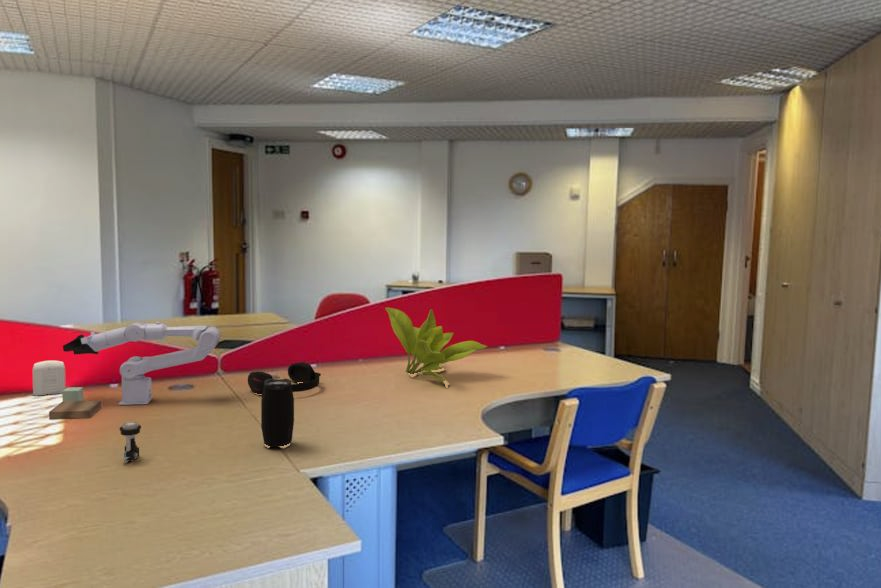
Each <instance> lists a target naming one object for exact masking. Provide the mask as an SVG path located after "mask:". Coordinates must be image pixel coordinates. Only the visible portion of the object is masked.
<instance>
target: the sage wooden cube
mask: <svg viewBox="0 0 881 588" xmlns="http://www.w3.org/2000/svg"><path fill="white" fill-rule="evenodd" d="M61 394H62V395H61V396H62V402H63V401H84V387H83V386H81V387H80V386H79V387H78V386H77V387H75V386H73V387H72V386H71V387H65V390H63V391H62V393H61Z"/></svg>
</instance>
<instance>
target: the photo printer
mask: <svg viewBox="0 0 881 588" xmlns="http://www.w3.org/2000/svg"><path fill="white" fill-rule="evenodd" d="M65 366H66V365H65V364H64V361H62V360H61V361H60V360H52V359H51V360H50V359H49V360H43V361H38V362H35V363H34V364H33V367H32V394H33V395H32V396H35V397H37V396H46V395H47V394H48V395H57V394H58V393H59V394H62V391H63V390H65V389H66V367H65ZM48 395H47V396H48Z"/></svg>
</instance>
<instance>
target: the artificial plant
mask: <svg viewBox="0 0 881 588" xmlns="http://www.w3.org/2000/svg"><path fill="white" fill-rule="evenodd" d="M385 311H386V312H387V313H388V317H389V320H390V325H391V328H392V330H393V332H394V334H395V336H396V337H397V339H398V340H399V341H400V343H401V346H402V347H403V348H404V350H405V352H406V353H407V356H408V357H407V358H408V359H407V366H406V370H405V372H406V373H410V374H414V373H418V372H420V373H418V374H417V375H418V376H422V375H423V376H424V375H425V376H432V377H435V378H437V379H439V380H440V382H441V383H442V382H443V381H445V380H446V379H445V378H444V377H443V376H441V375H440V374H438V372H432V371H431V370H438V369H442V368H444V367H443V366H441V365H443V364H446V363H449V362H453V361H457V360H462V359H463V358H465V357H467V356H470V354H472V353H473V352H475V351H480V350H483V349H486V348H488V346H487V345H485V344H481V343H480V342H478V341H475V340H466V341H460V342H457V343H455V344H451V345H448V346H447V347H445V346H446V345H447V344H448V343H449V342H450V340H451V339H452V337H453V335H454V332H446V333H444V332H443V326H441V325H440V326H437V324H436V318H435V314H434V311H433V309H430V310H429V313H428V315H427V318H426V320H424V322H423V323H422V325H420V327H416V326H413V323H412V320H411V318H410V317H409V316H408V314H406V313H405V312H404V311H402V310H400V309H397V308H394V307H393V308H392V307H385ZM444 347H445V348H444ZM443 348H444V349H443ZM411 355H412V357H413V359H412V361H411ZM421 364H423V365H422V367H419V366H420V365H421ZM439 365H440V366H441V367H440V366H439ZM418 367H419V368H418Z"/></svg>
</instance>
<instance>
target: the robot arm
mask: <svg viewBox="0 0 881 588" xmlns="http://www.w3.org/2000/svg"><path fill="white" fill-rule="evenodd" d="M167 337H190V338H192V339H193V340H194V341H195V342H197V344H196V345H195V347H193V348H188V349H183V350H182V349H181V350H178V351H173V352H169V353H163V354H158V355H154V356H153V355H152V356H143V357H142V356H137V355H136V356H132V357H130V358H128V359H127V360H126V361H125V362H123V363H122V364H121V365H120V367H119V374H120V376H121V397H122V398H121V399H122V400H121V401H119V403H118V405H119V406H122V405H123V406H124V405H125V406H127V405H129V406H130V405H148V404H149V403H150V401H152V399H153V392H152V391H153V388H152V387H153V386H152V385H153V382H152V378H151V377H150V376H149V377H148V376H145V374H146V373H149V372H151V371H157V370H161V369H166V368H171V367H176V366H180V365H184V364H191V363H195V362H199V361H203V360H204V359H205V358H206V357H208V355H209V354H210V353H211V352H212V351H213V350H214V349H215V348H216V346H217V345H218V344H219V341H220V340H221V337H222V332H221V330H220V329H219V328H218V327H217V326H213V325H211V326H207V325H184V326H183V325H182V326H181V325H180V326H179V325H178V326H168V325H166V324H165V323H161V321H156V322H155V323H146V322H145V321H144V322H141V323H140V322H132V323H131V324H130V325H129V326H128V325H127V326H123V327H118V328H114V329H110V330H107V331H103V332H100V333H99V332H98V333H96V332H95V331H91V332H90V335H88V336H85V335H84V334H79V335H77V337H75V338H74V339H73V340H71V341H69V342H67V343H66V344H63V345H62V348H63V352H65V353H66V352H73V355H84V354H85V355H86V354H87V355H88V354H89V355H90V354H91V355H99V352H100V351H103V350H106V349H109V348H113V347H116V346H119V345H124V344H125V343H129V342H135V343H136V342H139V341H140V340H141V339H142V340H144V341H152V340H153V341H155V340H160V341H161V340H163V341H164V340H165V339H166V338H167Z"/></svg>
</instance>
